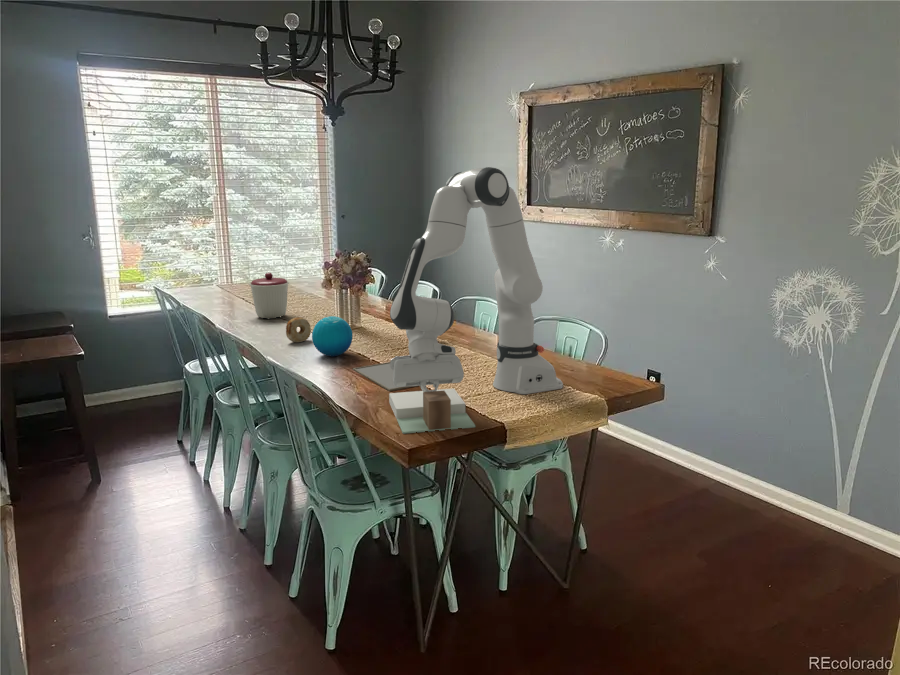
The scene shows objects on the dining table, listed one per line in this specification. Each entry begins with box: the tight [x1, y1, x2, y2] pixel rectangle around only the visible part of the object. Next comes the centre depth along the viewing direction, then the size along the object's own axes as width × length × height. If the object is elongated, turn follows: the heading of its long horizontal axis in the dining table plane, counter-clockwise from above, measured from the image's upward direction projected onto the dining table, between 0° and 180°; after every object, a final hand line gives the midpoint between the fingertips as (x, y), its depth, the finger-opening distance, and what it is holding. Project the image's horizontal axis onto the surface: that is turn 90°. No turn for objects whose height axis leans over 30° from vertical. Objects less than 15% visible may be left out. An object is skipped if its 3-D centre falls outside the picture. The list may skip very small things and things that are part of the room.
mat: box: [396, 412, 476, 435], centre depth 187 cm, size 20×10×1 cm, turn 103°
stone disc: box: [285, 316, 312, 343], centre depth 274 cm, size 10×4×10 cm, turn 131°
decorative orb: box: [311, 315, 353, 357], centre depth 253 cm, size 15×15×15 cm
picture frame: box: [352, 361, 416, 392], centre depth 231 cm, size 19×1×28 cm
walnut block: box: [423, 391, 451, 430], centre depth 185 cm, size 6×8×8 cm
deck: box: [388, 388, 466, 420], centre depth 199 cm, size 20×14×3 cm
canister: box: [248, 272, 290, 319], centre depth 318 cm, size 18×18×21 cm
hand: (431, 397), depth 190 cm, fingers closed
